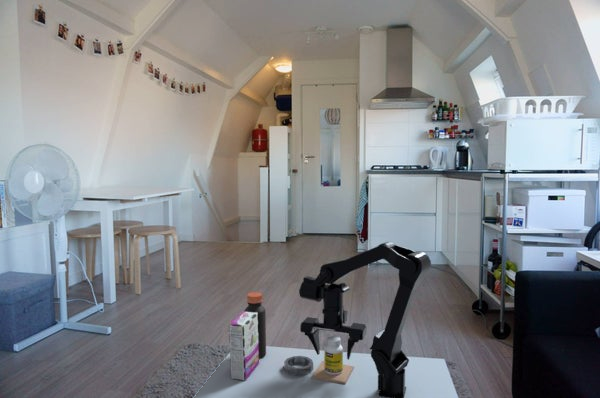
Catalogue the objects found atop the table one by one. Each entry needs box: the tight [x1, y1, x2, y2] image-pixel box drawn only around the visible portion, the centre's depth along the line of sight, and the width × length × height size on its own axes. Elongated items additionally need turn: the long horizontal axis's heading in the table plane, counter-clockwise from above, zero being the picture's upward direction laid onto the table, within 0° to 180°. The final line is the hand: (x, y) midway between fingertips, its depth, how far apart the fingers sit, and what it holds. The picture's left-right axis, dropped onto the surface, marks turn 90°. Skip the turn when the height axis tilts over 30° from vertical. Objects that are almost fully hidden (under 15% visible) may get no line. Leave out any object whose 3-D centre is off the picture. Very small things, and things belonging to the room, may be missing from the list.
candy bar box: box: [228, 311, 260, 382], centre depth 124 cm, size 11×5×16 cm, turn 164°
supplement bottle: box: [324, 335, 344, 375], centre depth 123 cm, size 5×5×10 cm
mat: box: [311, 360, 355, 385], centre depth 124 cm, size 10×10×1 cm
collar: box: [283, 355, 314, 377], centre depth 126 cm, size 8×8×2 cm
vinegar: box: [243, 291, 267, 360], centre depth 135 cm, size 7×7×20 cm
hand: (333, 356), depth 123 cm, fingers open, 9 cm apart
